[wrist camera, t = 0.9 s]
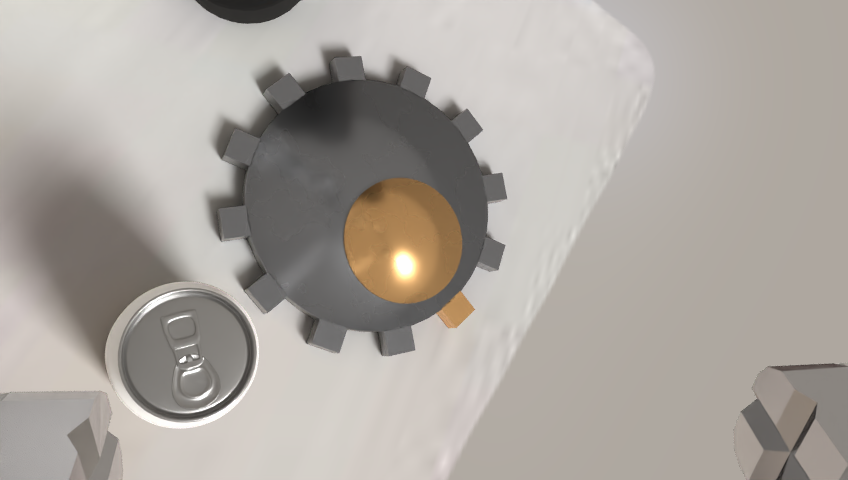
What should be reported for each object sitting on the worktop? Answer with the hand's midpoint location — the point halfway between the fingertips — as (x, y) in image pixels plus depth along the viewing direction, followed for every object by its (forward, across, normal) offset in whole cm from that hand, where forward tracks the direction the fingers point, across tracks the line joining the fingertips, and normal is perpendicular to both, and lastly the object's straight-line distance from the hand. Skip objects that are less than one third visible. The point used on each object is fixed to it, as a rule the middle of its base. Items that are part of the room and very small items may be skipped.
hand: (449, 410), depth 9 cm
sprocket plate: (+34, -2, +19) cm, 39 cm away
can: (+26, +10, +24) cm, 37 cm away
